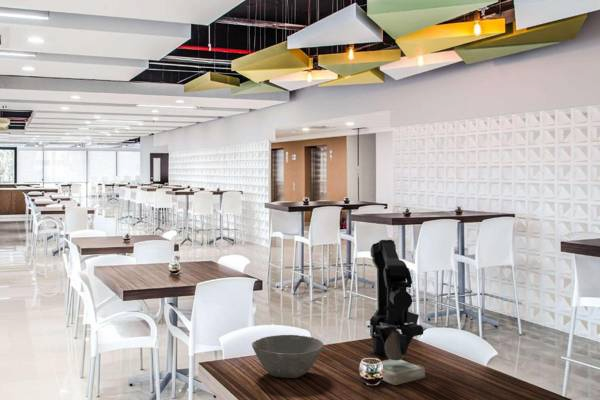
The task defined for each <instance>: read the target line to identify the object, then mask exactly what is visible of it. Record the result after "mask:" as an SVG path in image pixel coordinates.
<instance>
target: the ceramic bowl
mask: <svg viewBox="0 0 600 400" xmlns="http://www.w3.org/2000/svg"><path fill="white" fill-rule="evenodd" d="M251 346H252V348H253V351H254V353H255V355H256V357H257V359H258V361H259V362H260V364H261V365H262V367H263V368H264V370H265V371H266V372H267V374H268V375H270V376H272V377H275V378H282V379H285V378H286V379H297V378H300V377H302V376H303V375H306V374H307V372H309V371H310V369H311V368H312V367H313V365H314V364H315V363H316V361H317V360H318V359H319V356H320V354H321V352H322V351H323V349H324V343H323V342H322V341H321V340H319V339H317V338H315V337H311V336H306V335H298V334H279V335H270V336H265V337H261V338H259V339H257V340H255V341H253V342H252V343H251Z"/></svg>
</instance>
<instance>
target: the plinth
mask: <svg viewBox="0 0 600 400" xmlns="http://www.w3.org/2000/svg"><path fill="white" fill-rule="evenodd" d="M380 361H381V362H382V364H383V379H382V380H381V381H384V382H386V383H388V384H390V385H394V386H397V385H401V384H406V383H409V382H413V381H416V380H421V379H425V378H426V367H423V366H421V365H418V364H414V363H411V362H409V361H407V360H403V359H401V360H391V359H389V358H388V359H385V360H380Z"/></svg>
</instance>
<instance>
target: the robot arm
mask: <svg viewBox="0 0 600 400" xmlns="http://www.w3.org/2000/svg"><path fill="white" fill-rule="evenodd" d="M396 245H397V244H396V243H395V240H393V239H380V240H378V242H375V243H373V244H372V245H371V247H370V258H372V264H373V265H374V266H375V268H376V298H377V299H376V300H377V301H376V303H377V304H376V307H377V308H376V311H375V312H374V314H373V315H372V316H371V318H370V319H369V326H370V328H369V333H370V334H369V335H370V337H371V339H373V350H372V351H370V354H372V355H374V356H377V357H381V358H384V357H385V358H386V357H387V355H386V353H385V342H386V339H387V338H388V337H389V335H390V334H391V332H392V331H393V330H397V331H398V330H399V331H400V334H399V335H398V336H399V342H400V348H401V353H402V355H405V356H406V354H407V351H408V349H409V346H410V343H411V341H412V339H413V338H414V337H417V336H422V335H424V327H423V326H422V324H418V320H419V317H420V315H419V314H417V313H415V312H411V311H409V308H410V307H411V306H412V303H413V298H412V296H411V294H410V293H409V292H408V291H407V288H412V284H413V278H412V274H411V271H410V268H409V267H407V264H406V261H403V260H401V259H400V258H399V255H398V252H397V248H396V247H397V246H396Z"/></svg>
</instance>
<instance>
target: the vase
mask: <svg viewBox="0 0 600 400" xmlns="http://www.w3.org/2000/svg"><path fill="white" fill-rule="evenodd" d="M399 334H401V330H398V329H397V330H393V331H392V332H391V334H390V335H389V337H388V338H387V339H386V342H385V353H386V355H387V356H386V357H387V358H388V360H389V359H391V360H403V359H404V358H405V356H406V354H405V355H402V353H401V348H400V342H399V336H398V335H399Z"/></svg>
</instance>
